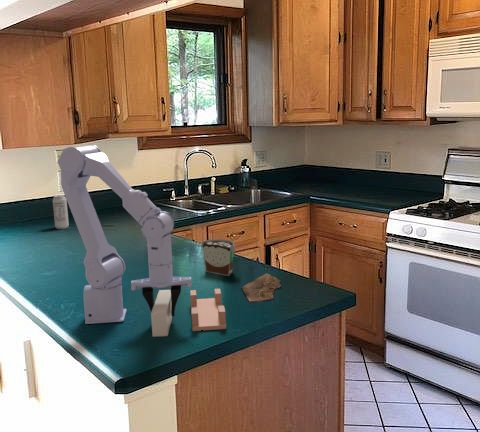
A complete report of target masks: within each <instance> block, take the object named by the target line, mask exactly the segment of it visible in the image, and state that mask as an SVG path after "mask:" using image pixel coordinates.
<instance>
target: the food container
mask: <svg viewBox="0 0 480 432" xmlns="http://www.w3.org/2000/svg"><path fill="white" fill-rule="evenodd" d="M200 247H201V248H202V250H203V251H202V252H203V253H202V254H203V260H204V268H205V272H206V273H210V274H211V273H212V274H216V275H221V276H228V277H230V276H232V274H233V266H234V252H235V251H236V246H235V243H234V241H232V240H229V239H222V238H221V239H219V238H218V239H217V238H216V239H215V238H214V239H208V240H206V239H205V240H203V241H201V246H200Z"/></svg>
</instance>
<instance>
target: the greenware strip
mask: <svg viewBox="0 0 480 432" xmlns="http://www.w3.org/2000/svg"><path fill="white" fill-rule="evenodd" d="M171 306H172V303H171V289H158V293H157V296H156V298H155V300H154V306H153V309H152V312H151V311H150V318H151V331H152V332H151V333H152V336H151V337H153V338H154V337H168V335H169V333H170V332H169V331H170V328H171V324H172V319H173V316H171Z"/></svg>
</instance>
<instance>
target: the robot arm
mask: <svg viewBox="0 0 480 432" xmlns="http://www.w3.org/2000/svg"><path fill="white" fill-rule="evenodd" d="M60 153H61V154H60V155H59V157H58V159H57V163H58V166H59V170H60V186H61V189H62V191H63V195H65V198H66V200H67V205H68V206H69V209H70V212H71V214H72V217H73V219H74V222H75V225H76V227H77V230H78V233H79V234H80V237H81V240H82V242H83V245H84V248H85V250H86V253H85V257H84V260H83V265H84V269H85V271H84V272H85V273H84V274H85V279H86V281H87V283H88V284H87V285H84V288H83V293H82V294H83V295H82V296H83V307H84V319H85V321H84V323H85V325H88V324H92V325H93V324H104V323H105V324H107V323H120V322H124V321H125V318H126V313H127V308H124V302H123V301H124V300H123V286H122V280H123V279H122V276H123V275H124V273H125V271H126V264H125V260H124V259H123V258H122V257H121V256H120V254H119V253H118V251H117V249H116V247H115V246H112V245H111V244H109V242H108V241H107V238H106V235H105V233H104V230H103V227H102V224H101V221H100V219H99V216H98V214H97V211H96V208H95V206H94V203H93V201H92V198H91V196H90V194H89V190H88V188H87V183H88V182H89V180H90V177H97V178H99V179H100V180H101V181H102V182H103V183H104V184H105V185H106V186H108V187H109V188H110V189H111V190H112V191H113V192H114V193H115V194H116V195H118V196H119V198H120V199H121V200H122V207H123V208H124V209H125V210H126V212H128V214H129V215H130V216H132V218H133V219H134V220H135V221H136V222H137V223H138V224H139V225H140V226H142V227H141V228H140V229H141V233H142V235H143V237H145V239H146V247H147V259H148V260H147V261H148V263H147V264H148V277H147V278H141V279H136V280H135V279H134V280H133V279H132V280H131V281H130V286H131V287H130V289H131V290H130V291H136V290H142V292H141V293H142V296H143V298H144V300H145V301H146V303H147V305H148V307H149V311H150V313H151V312H152V309H153V306H154V303H155V297H154V295H155V294H154V289H162V288H170V290H171V303H172V306H171V316H172V317H175V311H176V305H177V302H178V299H179V297H180V295H181V292H182V287H187V288H191V287H192V276H174V275H173V274H174V273H173V272H174V271H173V252H172V235H171V232H173V229H174V228H175V221H174V219H173V217H172V216H171V213H170V212H168V211H163V210H162V209H161V208H160V207H157V205H155V204H154V203H153V202H152V201H151V200H150V198H149V197H148V195H149V194H148V193H147V192H146V191H142V190H140V189H133V188H132V187H131V185H130V184H129V183H128V182H127V181H126V179H125V178H124V177H123V176H122V175H121V174H120V172H119V171H118V170H117V169H116V168H115V166H113V164H112V163H111V162H110V160H109V157H108V156H107V154H106V153H105V152H103V151H102V150H101V148H99V147H98V146H97V145H95V144H91V143H90V144H87V145H80V146H79V145H78V146H68V147H66V148H64V149H63V151H62V152H60Z"/></svg>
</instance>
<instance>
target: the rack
mask: <svg viewBox="0 0 480 432" xmlns="http://www.w3.org/2000/svg"><path fill="white" fill-rule="evenodd" d="M189 292H190V309H191V312H190V313H191V323H192V325H191V326H192V332H200V331H201V330H203V331H212V330H213V331H214V330H215V331H216V330H225V329H227V320H226V308H225V305H222V292H221V288H214V297H211V298H210V297H208V298H197V290H196V289H193V290H191V289H190V291H189Z"/></svg>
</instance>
